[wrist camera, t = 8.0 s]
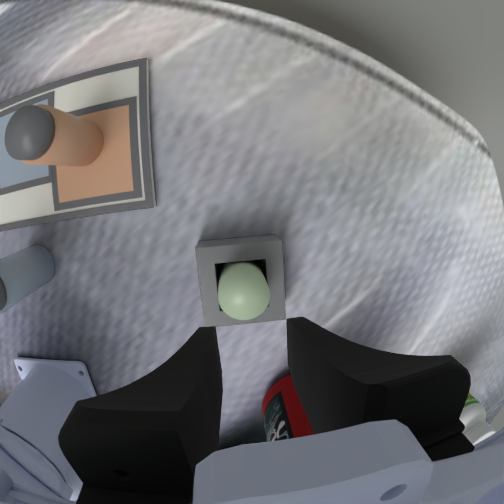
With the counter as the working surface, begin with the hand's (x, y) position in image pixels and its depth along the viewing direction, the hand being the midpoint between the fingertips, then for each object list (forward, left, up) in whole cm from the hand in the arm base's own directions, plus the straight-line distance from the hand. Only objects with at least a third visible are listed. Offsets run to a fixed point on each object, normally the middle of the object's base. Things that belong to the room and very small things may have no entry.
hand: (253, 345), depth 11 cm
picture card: (+10, +12, -9) cm, 18 cm away
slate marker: (+2, +15, -9) cm, 18 cm away
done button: (0, 0, -9) cm, 9 cm away
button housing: (0, 0, -9) cm, 9 cm away
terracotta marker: (+10, +10, -9) cm, 16 cm away
